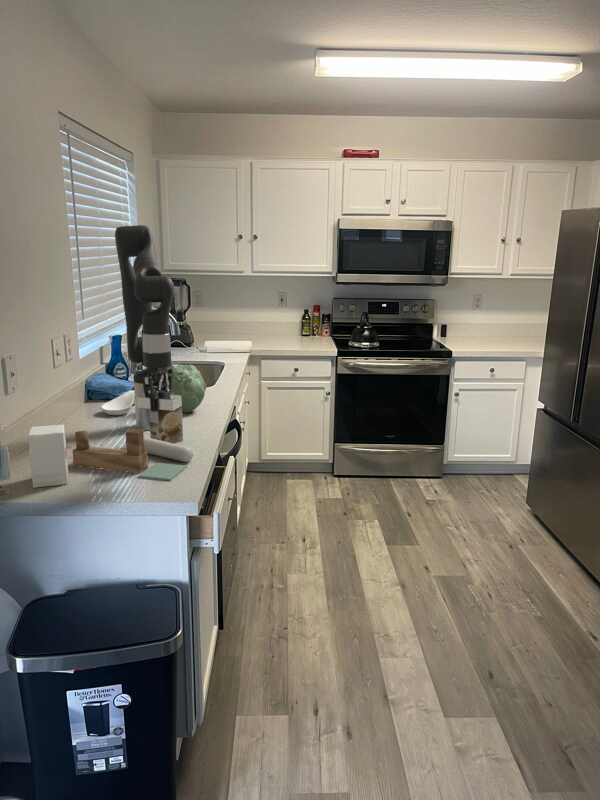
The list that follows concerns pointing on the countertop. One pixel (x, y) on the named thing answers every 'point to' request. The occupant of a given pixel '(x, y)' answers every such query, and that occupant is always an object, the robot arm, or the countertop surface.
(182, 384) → the cabbage
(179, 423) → the coffee box
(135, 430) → the body
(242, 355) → the countertop surface
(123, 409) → the spoon rest
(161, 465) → the mat
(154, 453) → the tube
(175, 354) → the countertop surface
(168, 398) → the lever cap
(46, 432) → the supplement box
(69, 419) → the countertop surface
